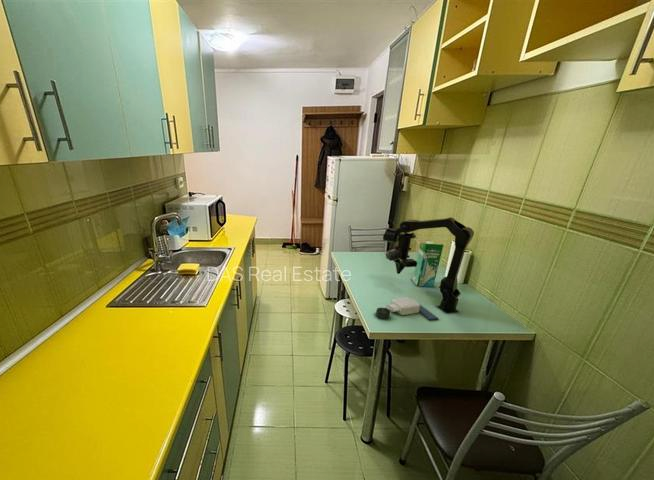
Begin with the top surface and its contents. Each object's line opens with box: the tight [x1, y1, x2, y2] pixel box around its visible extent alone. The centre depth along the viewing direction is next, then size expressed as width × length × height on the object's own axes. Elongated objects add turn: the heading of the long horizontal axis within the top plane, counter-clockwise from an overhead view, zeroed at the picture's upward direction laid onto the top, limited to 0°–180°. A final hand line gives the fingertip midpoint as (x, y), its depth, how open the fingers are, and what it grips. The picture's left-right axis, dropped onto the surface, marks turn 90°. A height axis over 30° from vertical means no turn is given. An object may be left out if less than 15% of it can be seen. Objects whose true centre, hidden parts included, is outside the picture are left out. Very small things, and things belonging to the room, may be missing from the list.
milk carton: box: [411, 240, 444, 288], centre depth 170 cm, size 9×9×25 cm
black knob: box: [375, 307, 391, 321], centre depth 139 cm, size 6×6×3 cm
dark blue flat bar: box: [418, 304, 439, 321], centre depth 144 cm, size 4×15×1 cm, turn 13°
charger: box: [384, 296, 421, 316], centre depth 143 cm, size 5×9×15 cm
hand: (398, 273), depth 159 cm, fingers closed
